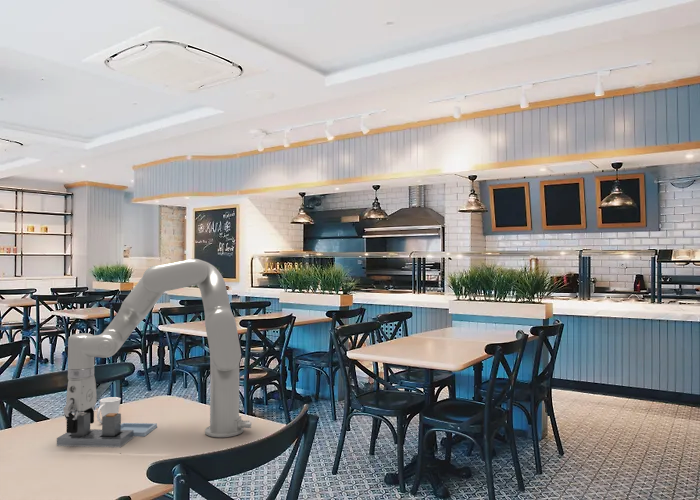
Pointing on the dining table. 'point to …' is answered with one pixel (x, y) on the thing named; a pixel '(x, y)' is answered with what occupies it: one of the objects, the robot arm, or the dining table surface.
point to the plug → (83, 424)
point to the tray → (139, 428)
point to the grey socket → (100, 435)
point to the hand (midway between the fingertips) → (80, 427)
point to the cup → (108, 406)
